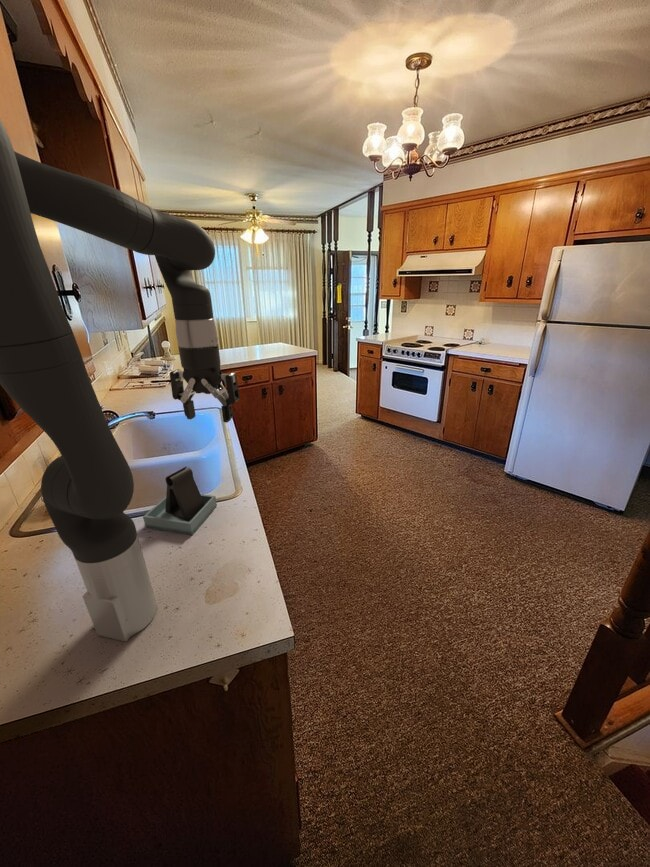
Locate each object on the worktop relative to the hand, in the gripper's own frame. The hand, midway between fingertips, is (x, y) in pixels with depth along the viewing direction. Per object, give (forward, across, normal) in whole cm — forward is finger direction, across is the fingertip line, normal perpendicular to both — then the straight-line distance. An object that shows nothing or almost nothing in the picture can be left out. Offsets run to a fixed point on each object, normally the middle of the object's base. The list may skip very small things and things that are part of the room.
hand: (209, 419), depth 75 cm
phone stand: (+29, -14, +4) cm, 33 cm away
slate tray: (+30, -14, +3) cm, 33 cm away
